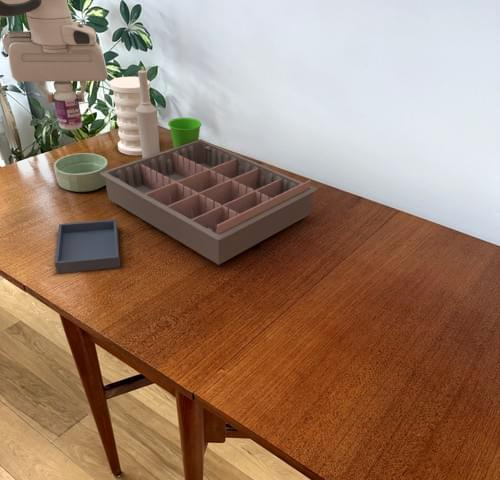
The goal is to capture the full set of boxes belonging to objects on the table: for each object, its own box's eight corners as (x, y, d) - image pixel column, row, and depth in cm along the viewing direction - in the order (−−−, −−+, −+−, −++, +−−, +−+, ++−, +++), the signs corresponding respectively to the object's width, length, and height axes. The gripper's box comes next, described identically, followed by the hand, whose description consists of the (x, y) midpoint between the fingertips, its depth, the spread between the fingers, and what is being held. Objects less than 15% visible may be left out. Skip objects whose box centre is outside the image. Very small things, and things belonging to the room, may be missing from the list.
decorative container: (110, 147, 139) (99, 81, 126) (140, 137, 145) (132, 73, 133) (135, 158, 133) (126, 91, 121) (165, 148, 140) (159, 82, 128)
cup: (207, 159, 135) (206, 120, 128) (195, 171, 129) (194, 131, 121) (178, 154, 137) (175, 115, 129) (165, 166, 131) (162, 126, 123)
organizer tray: (201, 167, 131) (200, 131, 124) (313, 219, 112) (319, 180, 105) (105, 204, 114) (97, 164, 107) (218, 273, 94) (218, 230, 88)
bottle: (157, 178, 125) (146, 75, 108) (140, 174, 126) (127, 72, 109) (165, 170, 129) (157, 70, 112) (149, 167, 130) (137, 67, 113)
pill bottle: (74, 132, 109) (65, 87, 102) (54, 128, 110) (44, 83, 103) (87, 124, 113) (79, 81, 106) (68, 121, 114) (60, 77, 107)
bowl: (56, 195, 116) (51, 176, 112) (59, 172, 125) (55, 154, 122) (111, 191, 118) (108, 172, 115) (110, 169, 128) (107, 151, 124)
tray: (57, 273, 92) (54, 263, 91) (61, 233, 103) (58, 223, 101) (120, 267, 95) (118, 257, 93) (117, 229, 105) (116, 219, 104)
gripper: (-3, 34, 94) (16, 107, 103) (101, 35, 98) (111, 105, 107) (1, 28, 98) (20, 98, 108) (101, 29, 102) (110, 96, 112)
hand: (66, 101), depth 108 cm, fingers closed on pill bottle, 5 cm apart
